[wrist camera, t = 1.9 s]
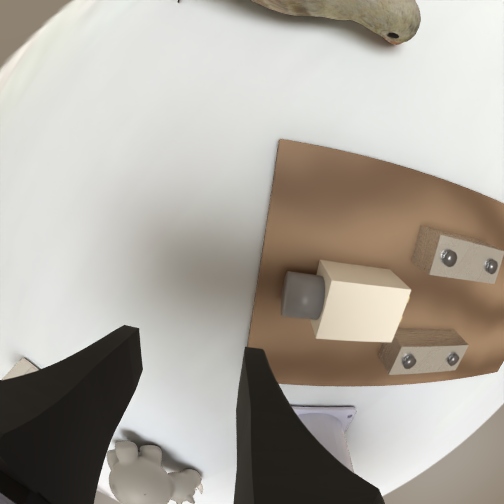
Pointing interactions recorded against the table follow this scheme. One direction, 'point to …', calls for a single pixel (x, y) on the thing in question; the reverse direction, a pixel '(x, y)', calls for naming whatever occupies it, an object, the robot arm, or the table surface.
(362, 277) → the plug
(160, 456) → the round bodied animal figurine
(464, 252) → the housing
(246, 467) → the robot arm
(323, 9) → the decorative bird
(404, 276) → the base board
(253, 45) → the table surface
